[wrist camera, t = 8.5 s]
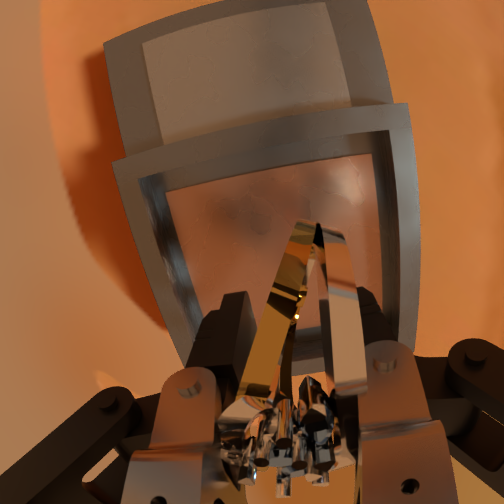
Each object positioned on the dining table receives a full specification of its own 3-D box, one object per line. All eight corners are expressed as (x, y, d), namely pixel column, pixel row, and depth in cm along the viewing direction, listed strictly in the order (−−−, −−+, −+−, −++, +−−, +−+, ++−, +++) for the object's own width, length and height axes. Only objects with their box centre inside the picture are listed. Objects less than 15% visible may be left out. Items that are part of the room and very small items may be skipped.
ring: (270, 186, 11) (231, 321, 3) (358, 206, 11) (473, 357, 3) (237, 345, 13) (197, 516, 6) (308, 358, 13) (312, 529, 6)
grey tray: (129, 53, 14) (86, 36, 9) (347, 6, 12) (369, -29, 8) (206, 336, 20) (192, 384, 16) (390, 307, 18) (414, 352, 14)
